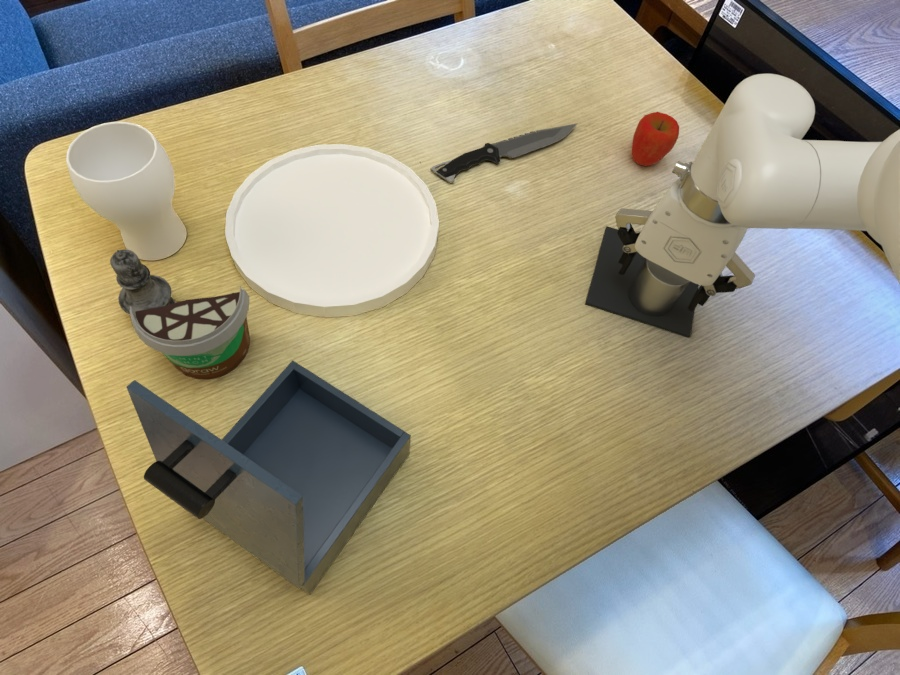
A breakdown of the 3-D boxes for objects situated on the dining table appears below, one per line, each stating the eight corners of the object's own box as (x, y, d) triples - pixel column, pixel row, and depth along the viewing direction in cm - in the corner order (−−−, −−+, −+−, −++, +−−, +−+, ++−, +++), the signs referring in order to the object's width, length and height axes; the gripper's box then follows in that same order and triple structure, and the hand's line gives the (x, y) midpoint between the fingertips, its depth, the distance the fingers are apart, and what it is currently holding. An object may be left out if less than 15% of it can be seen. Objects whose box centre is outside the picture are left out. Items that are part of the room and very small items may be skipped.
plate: (437, 321, 79) (439, 311, 77) (211, 313, 77) (205, 302, 75) (438, 161, 93) (439, 149, 91) (246, 151, 91) (243, 138, 89)
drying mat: (701, 257, 88) (703, 255, 88) (689, 338, 81) (690, 336, 81) (605, 228, 89) (606, 225, 89) (584, 304, 82) (585, 302, 82)
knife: (588, 140, 98) (571, 119, 100) (590, 135, 97) (573, 114, 99) (440, 187, 91) (425, 164, 93) (441, 183, 90) (426, 159, 92)
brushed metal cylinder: (675, 287, 84) (697, 255, 78) (669, 322, 81) (691, 291, 75) (632, 273, 85) (650, 240, 79) (624, 308, 82) (642, 276, 76)
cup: (173, 195, 86) (135, 105, 73) (213, 244, 82) (180, 158, 69) (98, 230, 82) (43, 142, 69) (136, 284, 78) (86, 201, 65)
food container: (158, 399, 71) (126, 357, 62) (155, 353, 74) (124, 307, 65) (269, 375, 74) (253, 332, 65) (261, 332, 76) (245, 284, 68)
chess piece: (143, 340, 75) (103, 282, 64) (120, 307, 77) (78, 245, 66) (188, 315, 77) (157, 255, 66) (165, 283, 79) (131, 220, 68)
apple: (655, 180, 95) (674, 142, 88) (618, 163, 96) (634, 124, 90) (670, 156, 98) (689, 118, 91) (634, 140, 99) (651, 100, 93)
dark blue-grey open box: (299, 383, 73) (292, 359, 68) (409, 454, 70) (411, 435, 65) (190, 508, 65) (174, 492, 60) (310, 595, 62) (302, 586, 57)
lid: (134, 379, 46) (80, 422, 43) (303, 495, 43) (256, 550, 40) (175, 488, 60) (137, 526, 57) (305, 581, 57) (270, 626, 54)
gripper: (629, 176, 66) (586, 272, 81) (786, 252, 62) (711, 339, 77) (656, 136, 69) (610, 235, 84) (806, 206, 66) (731, 297, 80)
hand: (658, 285), depth 81 cm, fingers open, 9 cm apart
